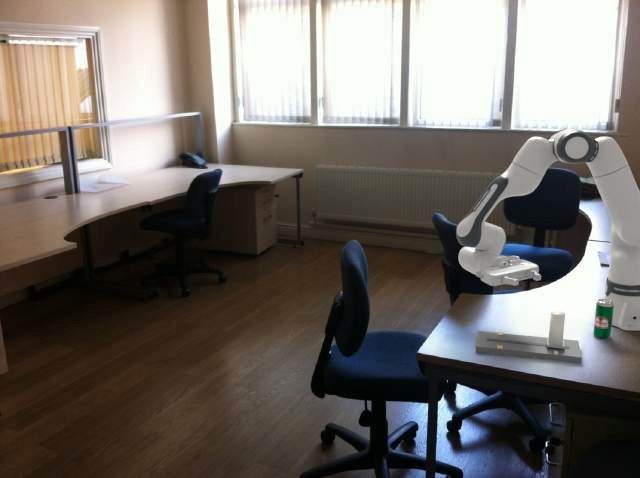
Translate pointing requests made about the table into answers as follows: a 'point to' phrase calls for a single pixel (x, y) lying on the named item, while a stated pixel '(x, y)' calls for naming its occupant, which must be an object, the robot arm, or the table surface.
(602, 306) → the soda can
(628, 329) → the robot arm
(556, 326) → the fader knob
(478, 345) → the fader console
